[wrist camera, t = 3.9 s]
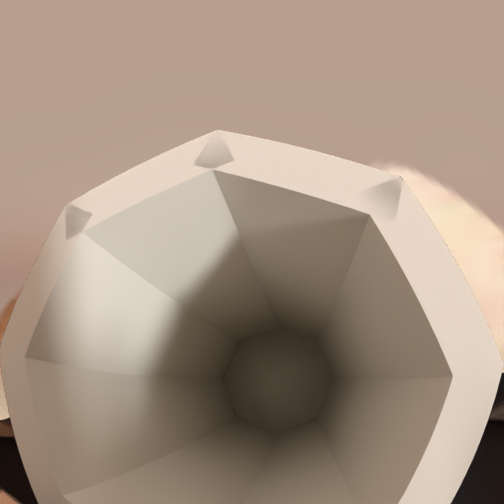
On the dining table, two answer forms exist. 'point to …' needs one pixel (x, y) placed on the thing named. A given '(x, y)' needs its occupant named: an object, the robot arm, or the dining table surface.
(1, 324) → the dining table surface
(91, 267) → the tumbler
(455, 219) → the dining table surface
